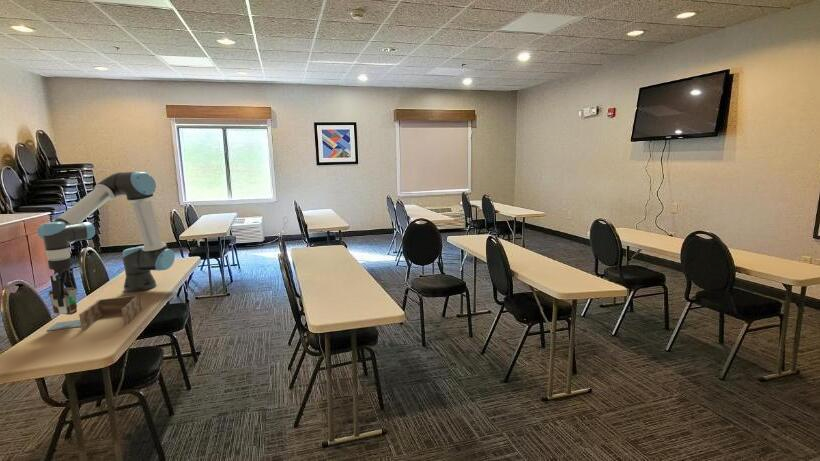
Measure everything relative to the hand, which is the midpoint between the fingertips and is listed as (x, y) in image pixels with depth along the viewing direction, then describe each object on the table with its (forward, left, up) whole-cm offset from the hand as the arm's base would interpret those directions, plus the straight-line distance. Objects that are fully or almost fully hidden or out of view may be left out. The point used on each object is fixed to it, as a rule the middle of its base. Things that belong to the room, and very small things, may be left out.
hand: (68, 310), depth 176 cm
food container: (-1, 0, -1) cm, 1 cm away
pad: (0, 0, -7) cm, 7 cm away
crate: (-1, +16, -7) cm, 17 cm away
